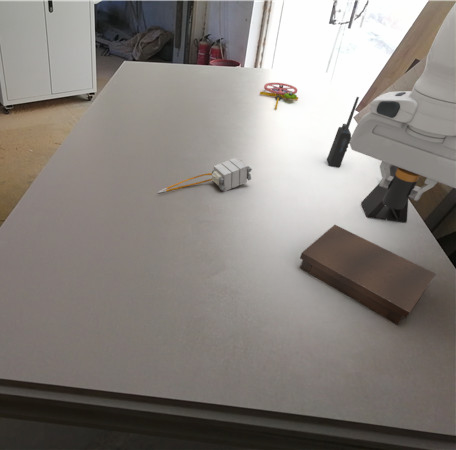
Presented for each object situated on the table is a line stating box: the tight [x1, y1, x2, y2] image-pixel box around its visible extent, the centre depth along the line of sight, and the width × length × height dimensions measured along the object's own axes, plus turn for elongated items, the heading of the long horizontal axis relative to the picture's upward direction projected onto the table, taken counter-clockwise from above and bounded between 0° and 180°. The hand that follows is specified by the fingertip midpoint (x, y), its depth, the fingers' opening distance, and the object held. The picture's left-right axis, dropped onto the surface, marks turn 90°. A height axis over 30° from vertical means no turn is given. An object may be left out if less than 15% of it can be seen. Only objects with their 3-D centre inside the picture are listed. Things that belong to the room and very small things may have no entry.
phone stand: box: [360, 165, 409, 223], centre depth 94 cm, size 9×6×12 cm, turn 80°
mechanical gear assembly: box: [259, 82, 299, 110], centre depth 160 cm, size 30×4×15 cm
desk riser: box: [299, 224, 437, 325], centre depth 78 cm, size 20×14×4 cm
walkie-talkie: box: [326, 96, 360, 168], centre depth 112 cm, size 5×3×20 cm
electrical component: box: [157, 157, 253, 194], centre depth 101 cm, size 24×6×5 cm, turn 115°
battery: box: [383, 167, 422, 210], centre depth 67 cm, size 3×3×7 cm
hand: (398, 192), depth 68 cm, fingers closed on battery, 3 cm apart
